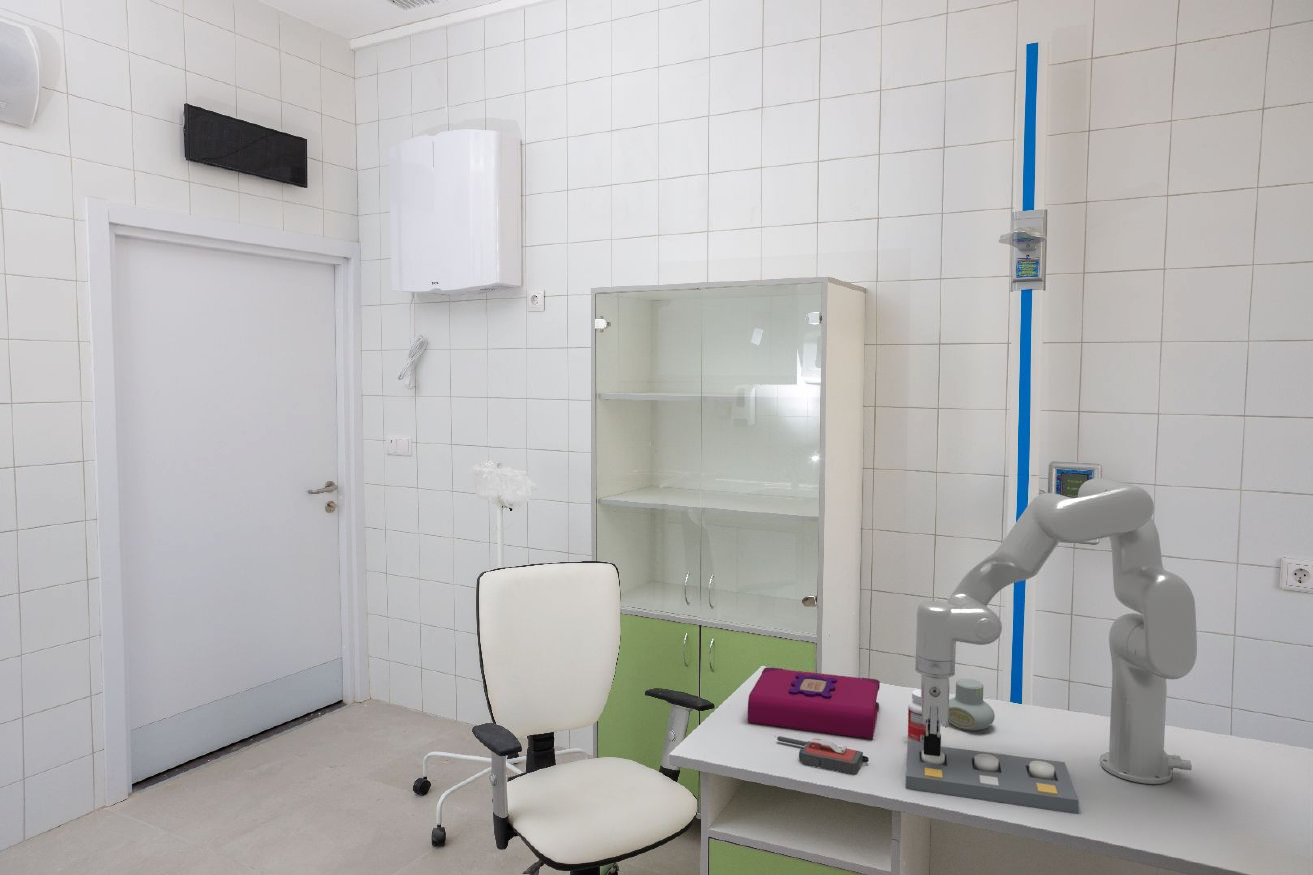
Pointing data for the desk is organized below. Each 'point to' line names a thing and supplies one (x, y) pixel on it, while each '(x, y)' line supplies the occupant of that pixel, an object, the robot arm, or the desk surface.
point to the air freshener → (970, 706)
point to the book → (815, 702)
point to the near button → (1041, 770)
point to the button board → (991, 779)
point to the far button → (933, 759)
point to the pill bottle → (915, 719)
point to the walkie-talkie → (828, 755)
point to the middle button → (986, 762)
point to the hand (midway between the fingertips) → (931, 753)
